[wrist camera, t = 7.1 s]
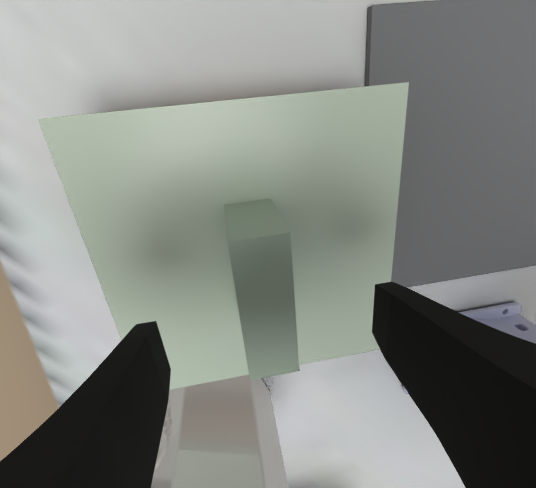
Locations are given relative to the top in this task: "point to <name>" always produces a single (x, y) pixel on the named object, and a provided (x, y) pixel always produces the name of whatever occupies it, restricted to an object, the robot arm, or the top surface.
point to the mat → (461, 133)
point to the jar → (220, 437)
